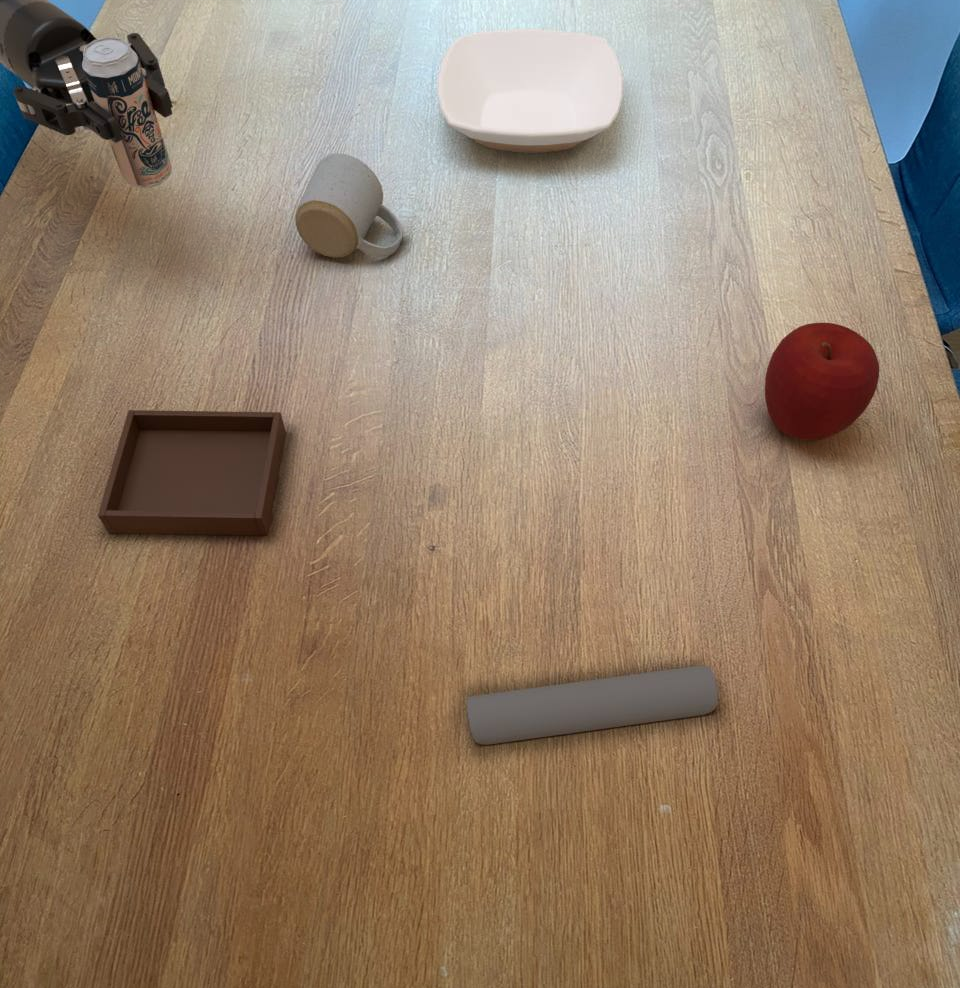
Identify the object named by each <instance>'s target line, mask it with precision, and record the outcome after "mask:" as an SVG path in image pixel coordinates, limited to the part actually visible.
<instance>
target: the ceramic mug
mask: <svg viewBox="0 0 960 988" xmlns="http://www.w3.org/2000/svg"><path fill="white" fill-rule="evenodd" d="M383 201H384V191H383V186H382V184H381V181H380V179H379V178H378V177H377V175H376V173H375V172H374V171H373V170H372V168H370V167H369V166H368V165H367V164H366V163H365V162H363V161H361V160H360V159H359V158H357V157H355V156H353V155H350V154H346V153H331V154H328V155H326V156H324V157H322V158H321V160H320V161H319V162H318V163H317V165H316V167H315V169H314V171H313V173H312V176H311V178H310V179H309V181H308V183H307V186H306V188H305V190H304V192H303V194H302V196H301V198H300V200H299V203H298V204H297V208H296V213H295V219H294V220H295V227H296V230H297V232H298V235H299V236H300V238H301V239H302V241H303V242H304V243H305V244H306V245H307V247H309V248H310V249H312V250H313V251H314V252H316V253H318V254H320V255H322V256H325V257H329V258H344V257H348V256H349V255H351V254H352V253H353V252H354V251H355V250H360V251H361V252H362V253H364V254H365V255H369V256H372V257H375V258H386V257H389V256H392V255H393V254H394V253H395V252H396V251H397V250H398V249H399V247H400V244H401V242H402V240H403V237H404V236H403V235H404V230H403V226H402V223H401V222H400V221H399V219H398V217H397V216H396V215H395V214H394V213H393V212H392V211H391V209H389V208H387V206H385V205H383V204H384V203H383ZM376 217H378V218H380V219H381V220H383V221H384V222H386V224H387V225H389V227H390V228H391V229H392V231H393V233H394V235H395V239H394V240H393V241H392V243H390V244H388V245H385V246H383V245H382V246H380V245H377V244H374V243H371V242H369V241H368V240H366V239H364V238H365V237H366V234H367V233H368V231H369V229H370V228H371V226H372V224H373V222H374V221H375V219H376Z"/></svg>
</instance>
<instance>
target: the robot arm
mask: <svg viewBox="0 0 960 988" xmlns="http://www.w3.org/2000/svg"><path fill="white" fill-rule="evenodd" d="M97 39H98V38H96V37H95V36H94V34H93V33H92V32H91V31H90V30H89V29H88V28H87V27H86V26H85V25H84V24H82V23H81V22H79V21H78V20H77V19H75V18H74V17H72V16H71V15H70V14H68V13H67V12H65V11H64V10H62V9H61V8H60V7H58V6H57V5H55V4H54V3H53V2H51V1H49V0H0V63H1V64H2V65H3V66H4V67H5V68H6V69H7V70H9V71H10V72H11V73H12V74H13V75H15V76H16V77H18V78H19V79H20V80H21V81H22V82H24V83H25V84H27V85H28V86H29V87H31V88H29V87H27V86H25V85H18V86H16V87H13V89H12V92H13V95H14V97H15V99H16V102H17V104H18V106H19V109H20V111H21V113H22V116H23V117H24V119H25V120H28V121H30V122H33V123H35V124H38V125H40V126H42V127H45V128H46V129H49V130H52V131H55V132H56V133H59V134H62V135H65V136H71V135H74V134H75V133H76V132H77V128H80V127H82V128H83V129H84V130H87V131H90V130H91V131H92V132H94V134H96V135H97V136H99V138H101V139H103V140H106V141H109V139H111V140H112V141H113V142H115V143H117V142H119V141H121V140H123V136H122V134H121V131H120V128H119V125H118V122H117V120H116V119H115V117H114V116H113V115H111V114H110V113H109V112H107V111H106V110H105V109H103V108H102V107H101V106H99V105H98V104H97V103H95V101H94V98H93V95H92V92H91V90H90V87H89V84H88V81H87V79H86V76H85V73H84V70H83V67H82V62H83V53H84V48H85V46H87V45H88V44H90V43H91V42H92V41H94V40H97ZM126 39H127V42H126V43H127V44H129V46H130V47H131V49H132V50H133V51H134V52H135V53H136V54H137V56H138V59H139V63H140V66H141V69H142V72H143V75H144V79H145V82H146V85H147V88H148V92H149V95H150V98H151V101H152V104H153V108H154V111H155V113H158V114H159V115H160V116H162V117H163V118H165V119H166V118H167V117H170V116H171V115H173V110H172V108H173V102H172V100H171V97H170V93H169V90H168V88H167V87H166V85H165V84H166V83H165V81H164V76H163V74H162V70H161V67H160V63H159V59H158V58H157V57H156V55H155V54H154V52H153V51H152V49H151V47H149V46H148V44H147V42H145V40H144V39H143V38H142V36H141V35H140V33H137V32H132V33H129V34H128V35H127V36H126Z"/></svg>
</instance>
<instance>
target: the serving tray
mask: <svg viewBox="0 0 960 988" xmlns="http://www.w3.org/2000/svg"><path fill="white" fill-rule="evenodd" d="M286 432H287V431H286V427H285V424H284V419H283V416H282V412H280V411H274V412H273V411H218V410H217V411H216V410H215V411H212V410H151V409H150V410H149V409H148V410H147V409H145V410H142V409H141V410H140V409H135V410H134V409H128V411H127V414H126V417H125V421H124V425H123V427H122V431H121V435H120V438H119V442H118V445H117V449H116V452H115V455H114V458H113V462H112V465H111V469H110V472H109V475H108V479H107V483H106V486H105V489H104V492H103V497H102V500H101V504H100V506H99V510H98V514H97V516H98V518H99V520H100V521H101V523H102V525H103V527H104V528H105V530H106V532H107V533H108V534H142V535H143V534H144V535H145V534H150V535H200V536H202V535H204V536H207V535H208V536H259V537H260V536H261V537H262V536H263V537H266V536H267V537H268V534H269V528H270V523H271V517H272V513H273V506H274V501H275V494H276V489H277V484H278V483H277V482H278V477H279V472H280V466H281V462H282V461H281V459H282V454H283V449H284V444H285V438H286Z"/></svg>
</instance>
